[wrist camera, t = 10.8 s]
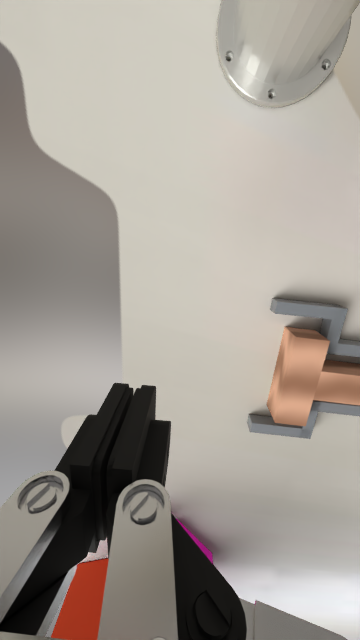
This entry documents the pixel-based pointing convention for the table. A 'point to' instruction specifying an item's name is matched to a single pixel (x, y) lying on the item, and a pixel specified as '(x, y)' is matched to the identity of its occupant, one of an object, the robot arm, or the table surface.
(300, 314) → the T outline
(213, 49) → the table surface
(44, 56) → the table surface
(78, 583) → the file binder
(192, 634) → the robot arm
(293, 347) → the T block
